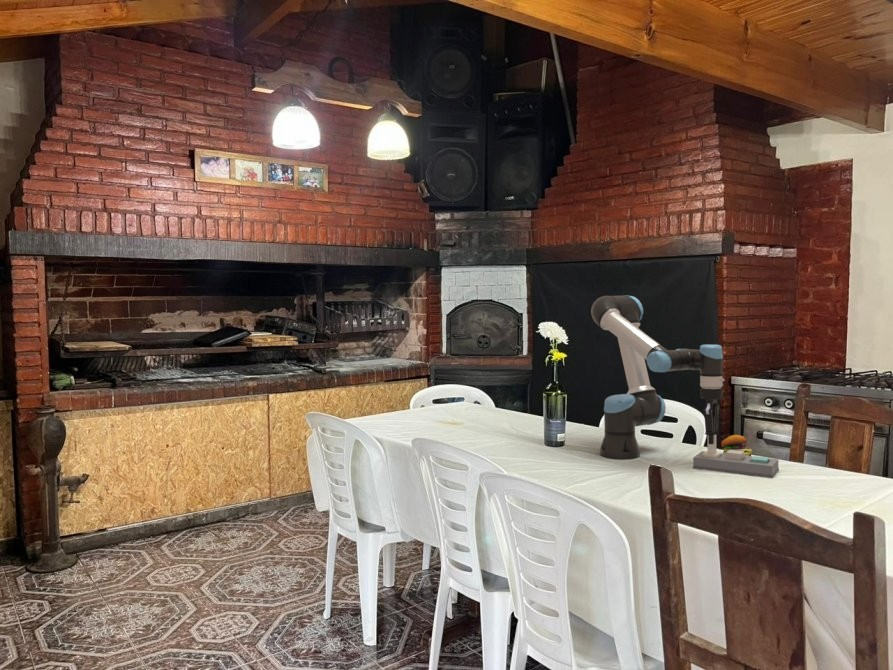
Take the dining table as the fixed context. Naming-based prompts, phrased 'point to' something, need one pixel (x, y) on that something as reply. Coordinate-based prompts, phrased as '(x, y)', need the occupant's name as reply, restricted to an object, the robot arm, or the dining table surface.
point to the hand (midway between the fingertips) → (712, 452)
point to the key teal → (760, 459)
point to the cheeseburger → (736, 444)
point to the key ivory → (712, 454)
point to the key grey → (735, 455)
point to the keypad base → (736, 465)
